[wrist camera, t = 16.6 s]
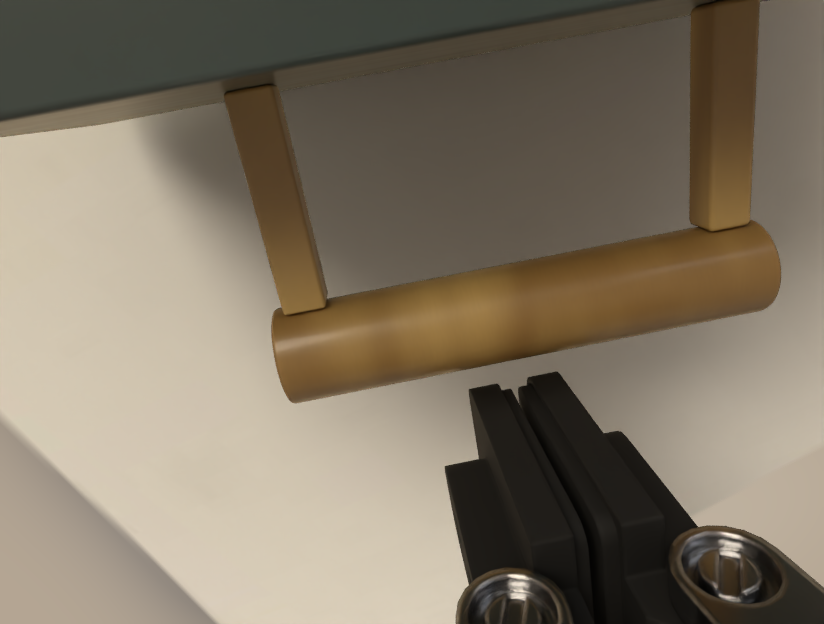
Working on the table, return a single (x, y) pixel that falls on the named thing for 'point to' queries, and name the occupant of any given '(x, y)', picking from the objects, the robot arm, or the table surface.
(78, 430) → the table surface
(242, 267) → the table surface
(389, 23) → the drawer
